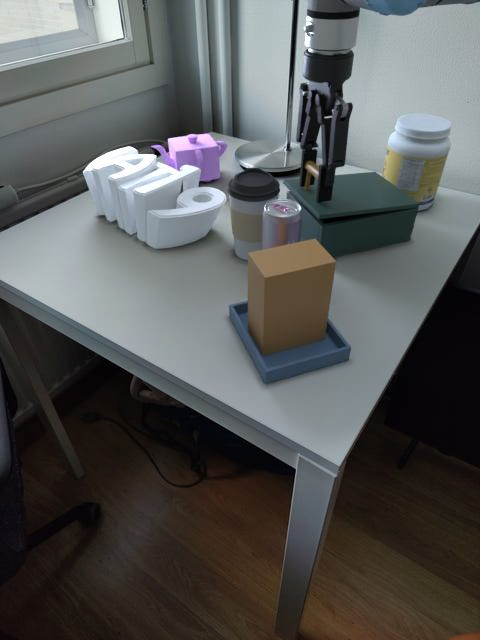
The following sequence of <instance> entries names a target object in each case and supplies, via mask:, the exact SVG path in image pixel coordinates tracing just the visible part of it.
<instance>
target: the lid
mask: <svg viewBox="0 0 480 640" xmlns="http://www.w3.org/2000/svg"><path fill="white" fill-rule="evenodd" d="M305 169H306V170H307V174H306V180H305V186H304V187H301V186H300V185H299V184H300V177H297V178H288V179H283V181H282V184H283V185H284V187H286V188H287V190H288V191H291V192H292V193H293V194H294V195H295V196H296V197H297V198H298V199H299V200H300V201H301V202H302V203H303V204H304V205H305V206H306V207H307V208H308V209H309V210H310V211H311V212H312V213H313V214H314V215H315V216H316V217H317V218H318V219H324V218H332V217H341V216H349V215H358V214H366V213H375V212H383V211H392V210H400V209H409V208H417V207H419V205H420V203H418V202H417V201H416V200H414V199H413V198H411V197H410V196H409V195H407V194H406V193H404V192H403V191H402V190H400V189H399V188H397V187H396V186H395V185H393V184H392V183H390V182H389V181H388V180H386V179H385V178H383V177H382V176H381V175H382V174H381V175H380V174H379V173H378V172H376V171H368V172H367V171H366V172H355V173H345V174H335V177H334V178H335V179H334V184H333V191H332V199H331V200H330V201H325V202H320V203H317V202H316V194H317V184H318V174H319V164H317V163H316V164H315V163H314V162H313V161H311V160H310V161H307V162H306V164H305ZM311 174H312V175H313V176H314V177H315V181H314V185H310V180H311ZM309 185H310V186H309Z"/></svg>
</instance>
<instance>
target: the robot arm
mask: <svg viewBox="0 0 480 640" xmlns="http://www.w3.org/2000/svg"><path fill="white" fill-rule="evenodd" d="M476 3H480V0H306V20H305V25H304V26H303V32H304V33H305V35H304V46H305V47H306V49H305V51H304V52H303V57H302V58H303V60H302V73H301V74H302V77H303V78H304V79H305V80H306V81H308V82H300V83H299V88H298V89H299V104H298V112H297V113H298V114H297V123H296V135H295V141H296V143H299V148H300V150H301V157H300V158H301V159H300V171H299V173H300V174H299V178H300V184H299V185H300V186H301V187H304V186H305V180H306V174H307V170H306V169H305V164H306V162H307V161H310V160H311V161H313V162H314V163H315V164H316V165H317V159H318V150H317V149H316V148H319V144H318V142H317V141H318V137H319V134H321V135H320V136H321V158H322V159H321V161H322V162H321V163H322V164H318V166H319V174H318V184H317V194H316V202H317V203H320V202H325V201H330V200H331V199H332V191H333V184H334V179H335V178H334V177H335V175H336V170H337V168H342V167H345V166H346V157H347V147H348V138H349V129H350V119H351V115H352V113H353V109H354V104H353V103H352V102H346V101H345V100H344V83H346V81H348V80H349V79H350V78H351V77H352V74H353V65H354V57H355V53H354V51H353V50H352V49H354V48H355V47H356V46H357V37H358V30H359V29H358V28H359V20H360V13H361V9H363V10H367V11H371V12H374V13H378V14H379V15H381V16H386V17H387V16H396V17H397V16H399V17H403V16H409V15H411V14H413V13H414V12H416V11H417V10H419V9H421V8H422V9H423V8H429V7H430V8H431V7H436V6H447V5H472V4H476ZM314 181H315V177H314V176H313V175H312V174H311V180H310V185H314ZM310 185H309V186H310Z"/></svg>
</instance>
